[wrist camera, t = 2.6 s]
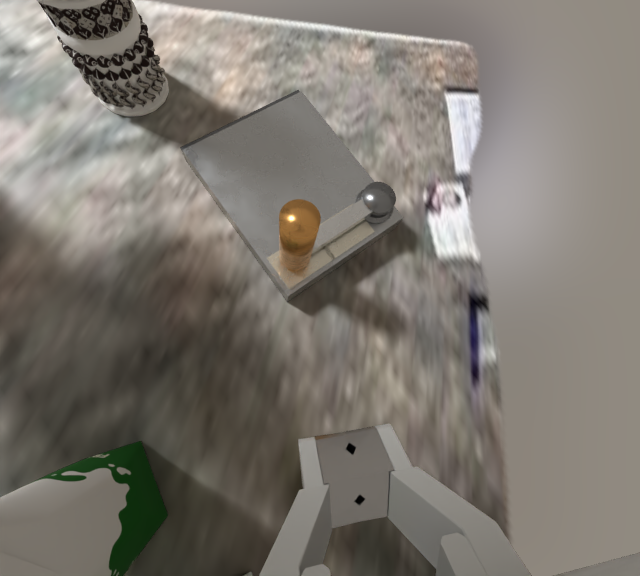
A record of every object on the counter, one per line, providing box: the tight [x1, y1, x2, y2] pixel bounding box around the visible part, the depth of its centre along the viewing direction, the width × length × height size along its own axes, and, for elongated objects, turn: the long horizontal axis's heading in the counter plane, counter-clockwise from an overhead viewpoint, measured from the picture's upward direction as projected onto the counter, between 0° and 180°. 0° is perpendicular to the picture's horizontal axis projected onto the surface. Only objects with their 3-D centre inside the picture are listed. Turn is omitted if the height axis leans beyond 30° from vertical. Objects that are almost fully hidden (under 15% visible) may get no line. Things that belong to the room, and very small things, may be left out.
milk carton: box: [0, 441, 168, 576], centre depth 18 cm, size 9×9×20 cm
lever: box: [279, 182, 396, 270], centre depth 29 cm, size 14×4×8 cm, turn 126°
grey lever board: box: [181, 90, 403, 302], centre depth 36 cm, size 21×16×3 cm
